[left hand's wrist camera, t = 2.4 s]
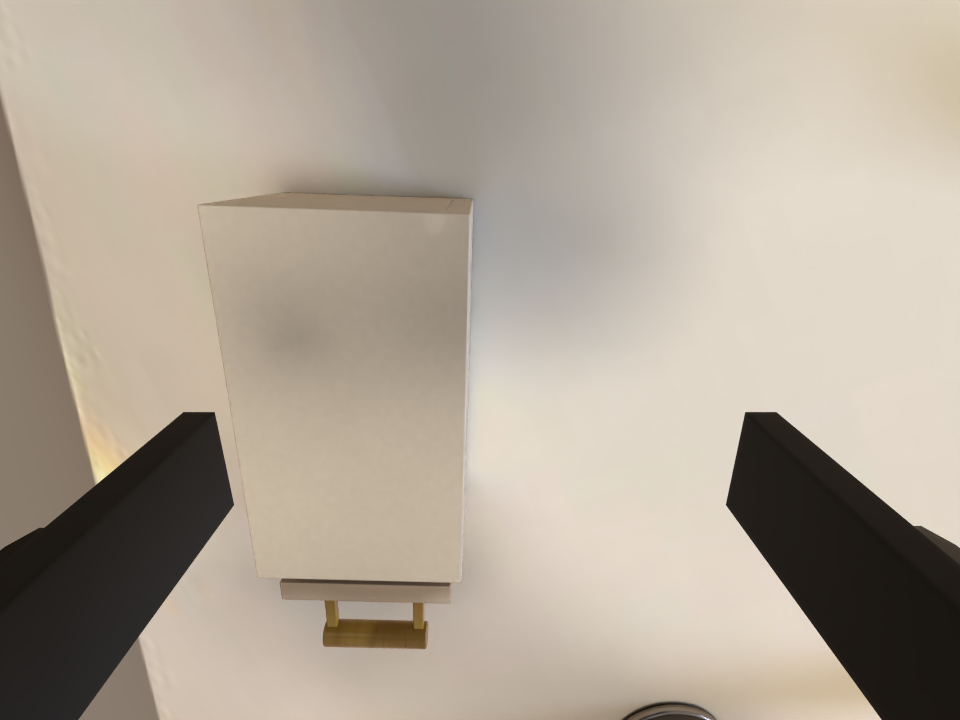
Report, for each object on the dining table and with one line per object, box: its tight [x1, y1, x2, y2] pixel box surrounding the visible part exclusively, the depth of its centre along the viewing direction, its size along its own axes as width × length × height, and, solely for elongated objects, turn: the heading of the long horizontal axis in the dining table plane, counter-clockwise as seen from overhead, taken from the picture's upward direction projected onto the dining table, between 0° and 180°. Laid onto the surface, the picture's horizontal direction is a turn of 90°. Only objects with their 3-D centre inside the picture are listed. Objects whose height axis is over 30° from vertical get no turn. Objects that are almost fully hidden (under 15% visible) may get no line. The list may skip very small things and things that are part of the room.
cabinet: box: [198, 193, 473, 583], centre depth 27 cm, size 18×10×9 cm, turn 178°
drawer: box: [280, 578, 452, 649], centre depth 29 cm, size 22×9×7 cm, turn 178°
